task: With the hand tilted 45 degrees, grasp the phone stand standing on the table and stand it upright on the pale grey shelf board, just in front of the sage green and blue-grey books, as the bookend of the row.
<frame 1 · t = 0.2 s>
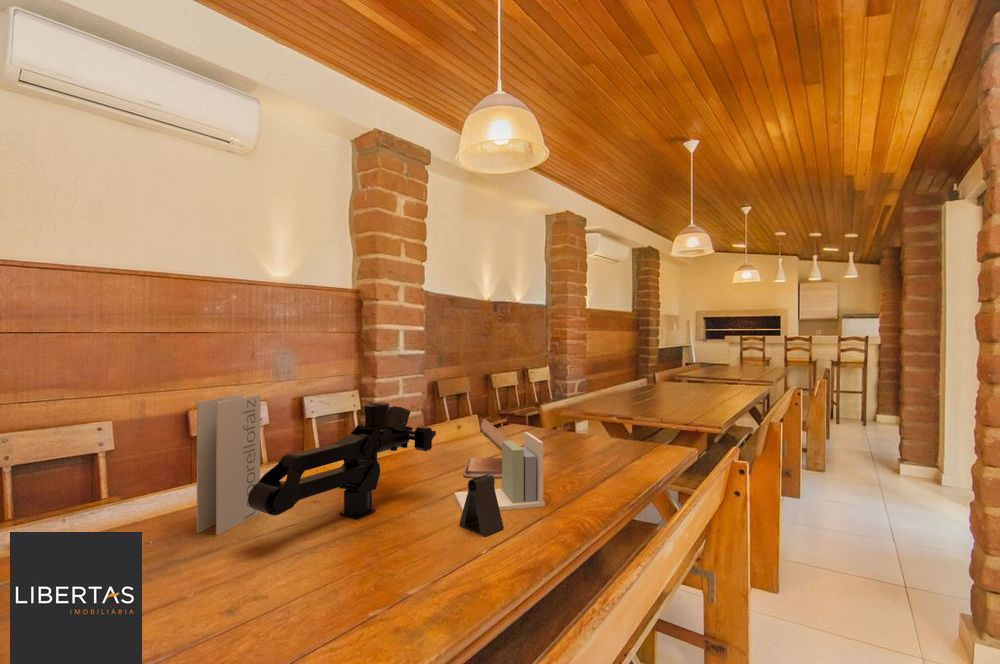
hand: (423, 430, 145), 17 cm above the table, tool horizontal, fingers open, 9 cm apart
bookshelf: (487, 501, 132), on the table
phone stand: (481, 528, 115), on the table
case: (496, 470, 163), on the table
brochure: (230, 523, 117), on the table
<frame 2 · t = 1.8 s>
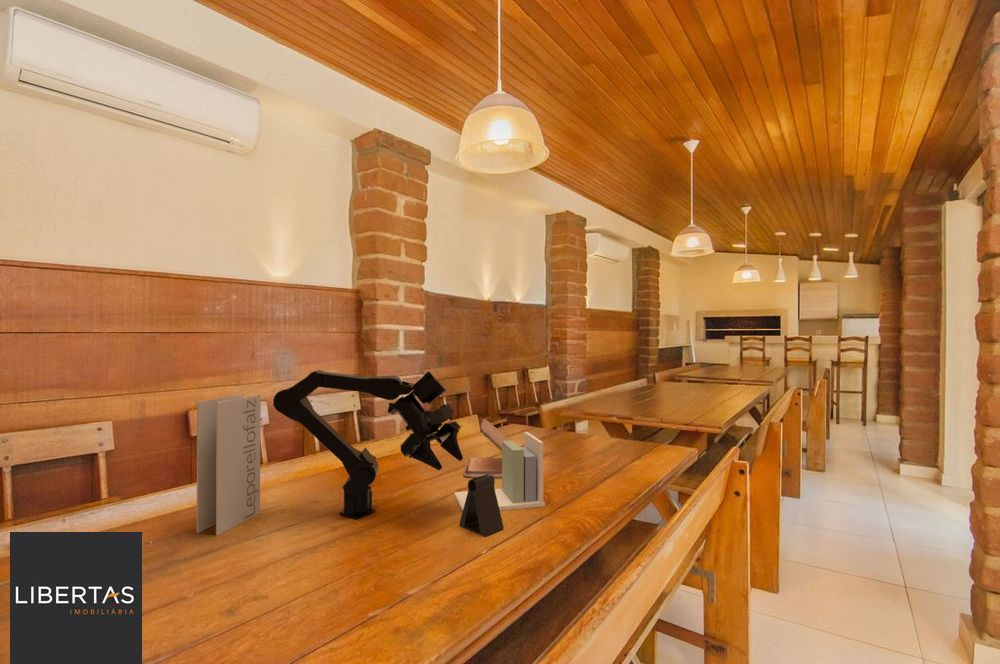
hand: (451, 464, 119), 14 cm above the table, tool tilted 45°, fingers open, 9 cm apart
nothing on the table moved.
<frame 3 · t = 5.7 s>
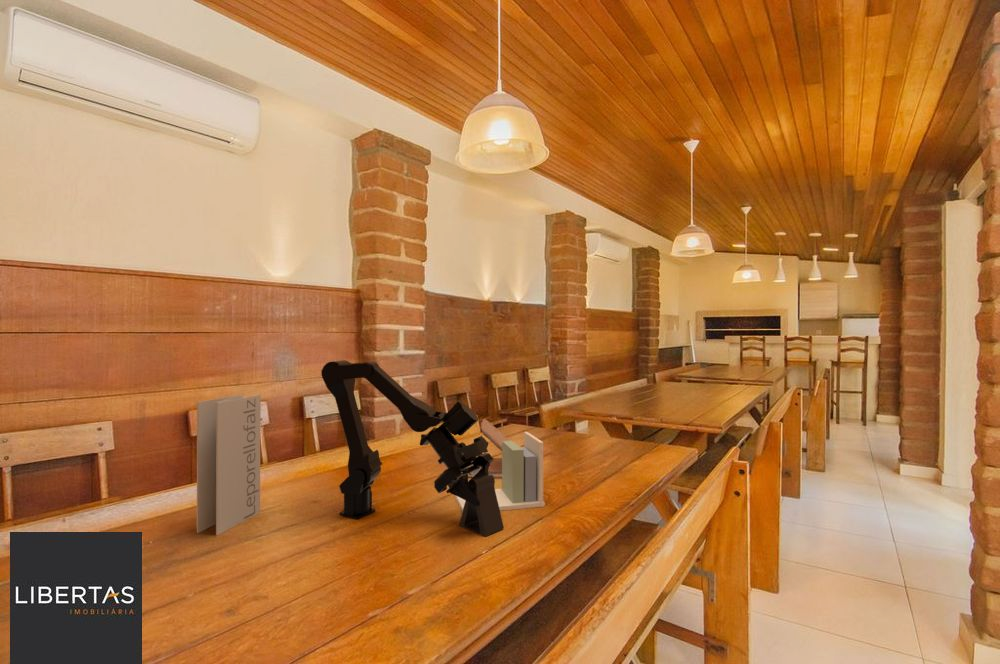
hand: (486, 500, 114), 7 cm above the table, tool tilted 45°, fingers closed on phone stand, 6 cm apart
phone stand: (481, 528, 115), on the table, touching gripper
everything else where it was.
when the fingers open (9 cm above the table, at t = 10.6 s): phone stand drops 1 cm, resting on bookshelf.
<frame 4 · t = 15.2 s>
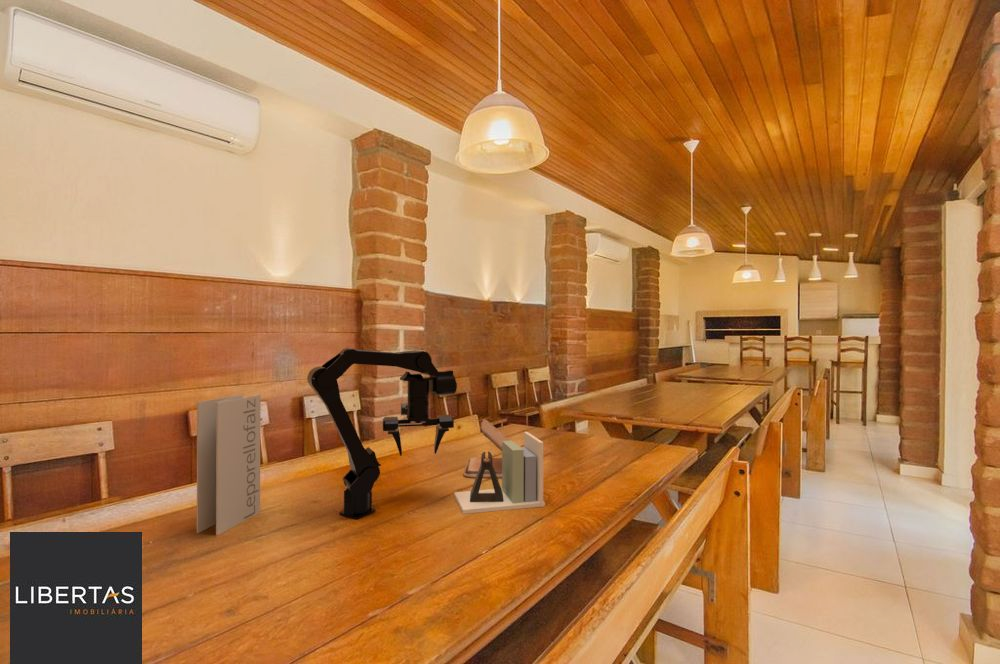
hand: (418, 454, 132), 13 cm above the table, tool pointing down, fingers open, 9 cm apart
phone stand: (486, 498, 132), point 1 cm above the table, touching bookshelf
everything else where it was.
at the end: phone stand 0.2 cm off-centre on the bookshelf, point 0.8 cm above the bookshelf's base; phone stand tilted 0°; the gripper is holding nothing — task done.
